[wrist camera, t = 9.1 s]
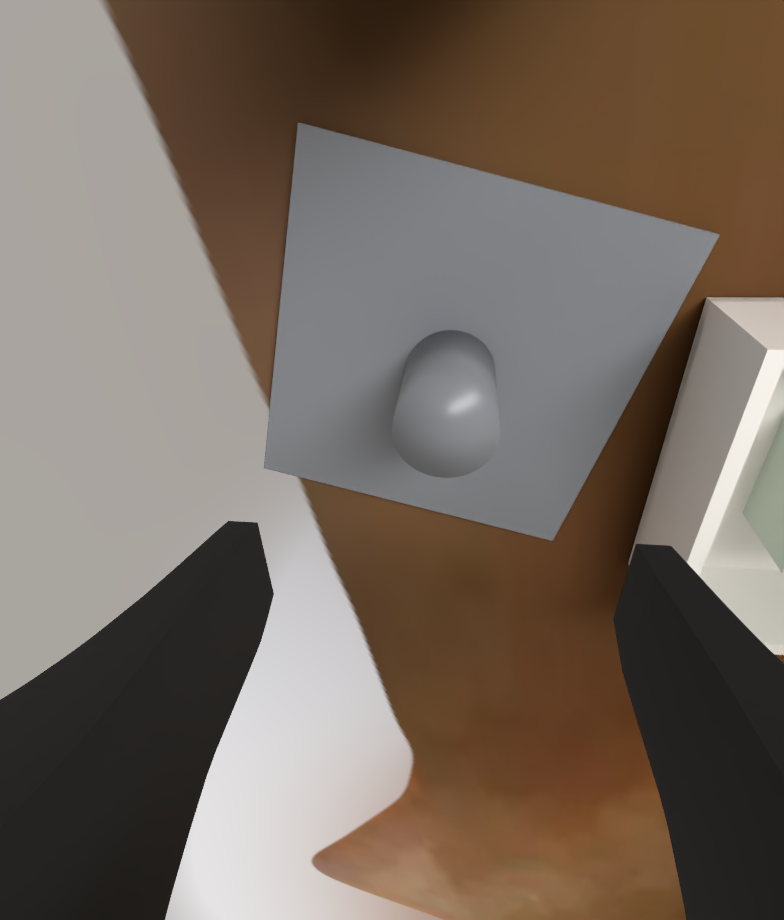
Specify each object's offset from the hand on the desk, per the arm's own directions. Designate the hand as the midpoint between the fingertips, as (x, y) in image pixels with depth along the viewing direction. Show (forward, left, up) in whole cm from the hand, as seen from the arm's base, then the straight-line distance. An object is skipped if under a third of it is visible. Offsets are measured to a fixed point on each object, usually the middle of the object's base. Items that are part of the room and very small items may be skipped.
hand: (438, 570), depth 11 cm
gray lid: (0, 0, -10) cm, 10 cm away
